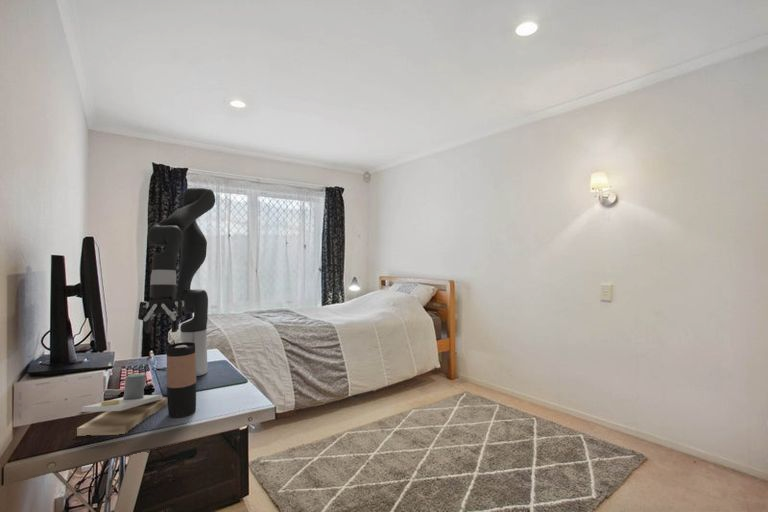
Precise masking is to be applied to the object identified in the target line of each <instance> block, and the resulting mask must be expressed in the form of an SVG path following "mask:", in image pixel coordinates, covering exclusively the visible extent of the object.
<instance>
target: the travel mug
mask: <svg viewBox="0 0 768 512" xmlns="http://www.w3.org/2000/svg"><path fill="white" fill-rule="evenodd" d="M166 393H167V394H166V395H167V397H166V398H167V408H168V409H167V415H168V417H169V418H171V419H179V418H186V417H188V416H191V415H193V414H195V413H196V409H197V376H196V353H195V343H192V342H183V343H181V342H177V343H172V344H168V345H167V346H166ZM185 416H186V417H185Z"/></svg>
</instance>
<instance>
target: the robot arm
mask: <svg viewBox="0 0 768 512" xmlns="http://www.w3.org/2000/svg"><path fill="white" fill-rule="evenodd" d="M215 205H216V196H215V193H214V191H213V190H212V189H211V188H208V187H188V188H185V190H184V192H183V197H182V207H180V208H178V209H176V210H175V211H174V212H173V213H172V214H170V215H169V216H168V218H166V219H163V220H161V221H159V222H157V223H154V224H153V225H152V226H151V227H150V229H148V232H147V240H148V242H149V244H150V245H152V246H153V247H165V249H164V250H163V251H160V252H156V253H154V254H153V255H152V263H151V264H152V265H151V273H150V281H149V282H150V287H149V298H150V299H149V301H140V302H139V305H138V317H137V319H138V320H139V321H143V322H144V323H143V331H144V332H145V334H151V333H152V328H153V327H152V326H153V325H152V323H153V322H152V320H153V318H154V317H155V316H156V315H167V316H169V318H171V333H176V332H178V330H179V329H180V343H183V342H192V343H195V353H196V377H200V376H203V375H205V374H207V373H208V331H207V329H208V328H207V327H208V318H209V317H208V313H209V296H208V292H207V291H206V290H205V289H201V288H200V289H191V285H192V281H193V279H194V276H195V275H196V273H197V271H199V269H200V267H202V265H203V264H204V262H205V260H206V257H207V248H208V246H207V245H208V241H207V237H206V236H205V234H204V233H203V231H202V230H201V228H200V227H199V225H198V222H197V219H199V218H200V217H202V216H203V215H204V214H206V213H207V212H209V211H211V210H212V209H213V208H214V206H215ZM179 253H180V260H179V261H180V263H179V273H178V279H177V272H176V270H177V259H178V256H179ZM149 307H150V308H149ZM148 308H149V310H148ZM186 314H193V318H192V319H190V320H188V321H185V322H183V323H181V324H180V320H182V319H185V318H186ZM156 317H157V316H156ZM179 324H180V325H179Z"/></svg>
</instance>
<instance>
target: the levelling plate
mask: <svg viewBox="0 0 768 512" xmlns="http://www.w3.org/2000/svg"><path fill="white" fill-rule="evenodd" d="M145 386H146V376H145V373H131V374H128V375H127V376H126V377H125V380H124V388H123V389H124V394H123V396H122V397H118V398H114V399H113V398H112V399H110V400H103V401H100V402H99V403H97V404H94V403H92V405H88V406H87V405H83V406H82V409H81V412H82V413H83V412H84V413H85V412H86V413H87V412H88V413H89V412H106V411H122V410H125V409H129V408H132V407H136V406H139V405H142V404H146V403H149V402H153V401H156V400H160V399H162V398H163V394H145V391H144V388H145Z"/></svg>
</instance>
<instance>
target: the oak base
mask: <svg viewBox="0 0 768 512" xmlns="http://www.w3.org/2000/svg"><path fill="white" fill-rule="evenodd" d="M166 406H168V398H167V397H162V399H160V400H156V401H153V402H149V403H146V404H142V405H139V406H136V407H132V408H129V409H125V410H122V411H103V413H101V414H99V415H97V416H96V417H94V418H92V419H91V420H89V421H87V422H85V423H84V424H82V425H80V426H78V427H76V429H77V430H76V434H77V435H76V436H77V437H83V436H86V435H91V436H114V435H117V436H118V435H119V434H124V435H126V434H127V433H129V432H130V431H132V430H133V429H134V428H135V426H136V425H137V424H138V425H140V424H141V423H142V422H141V421H143V420H144V419H145V420H147V419H148V418H149V416H150V415H151V416H152V414H153V415H154V414H156V413H157V412H158V411H159V410H161V409H163V408H164V407H166ZM151 416H150V417H151ZM147 417H148V418H147ZM146 418H147V419H146ZM145 420H144V421H145ZM144 421H143V422H144ZM140 422H141V423H140ZM139 423H140V424H139ZM138 425H137V426H138ZM137 426H136V427H137ZM133 427H134V428H133ZM132 428H133V429H132ZM129 430H130V431H129ZM128 431H129V432H128ZM125 433H126V434H125ZM119 436H120V435H119ZM86 437H87V436H86Z"/></svg>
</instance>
